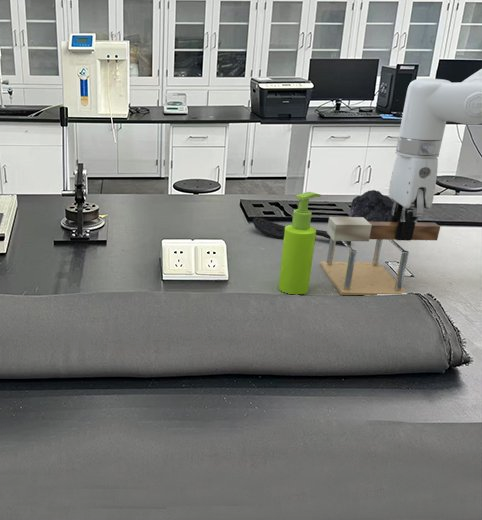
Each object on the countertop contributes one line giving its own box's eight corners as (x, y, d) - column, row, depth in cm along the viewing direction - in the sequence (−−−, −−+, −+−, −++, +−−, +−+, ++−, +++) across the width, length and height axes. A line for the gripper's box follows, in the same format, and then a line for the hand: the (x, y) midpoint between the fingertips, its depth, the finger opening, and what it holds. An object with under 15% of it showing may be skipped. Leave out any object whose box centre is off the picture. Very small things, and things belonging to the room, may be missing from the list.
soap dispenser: (317, 289, 109) (330, 194, 101) (295, 298, 105) (307, 200, 97) (294, 279, 113) (305, 188, 105) (272, 287, 109) (282, 193, 102)
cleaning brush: (428, 234, 111) (432, 218, 110) (440, 242, 106) (444, 226, 105) (326, 232, 112) (329, 216, 111) (333, 240, 107) (336, 224, 106)
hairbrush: (350, 239, 127) (249, 219, 138) (347, 253, 129) (247, 232, 139) (355, 229, 134) (258, 210, 144) (352, 243, 135) (256, 223, 146)
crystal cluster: (394, 240, 137) (406, 202, 133) (341, 226, 143) (350, 190, 139) (400, 229, 148) (411, 194, 144) (350, 217, 154) (359, 183, 150)
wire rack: (378, 265, 120) (385, 227, 116) (407, 297, 105) (417, 254, 102) (320, 264, 121) (325, 226, 117) (341, 296, 106) (348, 253, 102)
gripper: (459, 156, 94) (436, 252, 101) (419, 139, 109) (402, 224, 116) (416, 155, 94) (396, 251, 102) (382, 139, 109) (367, 224, 116)
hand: (399, 236), depth 109 cm, fingers closed on cleaning brush, 2 cm apart
